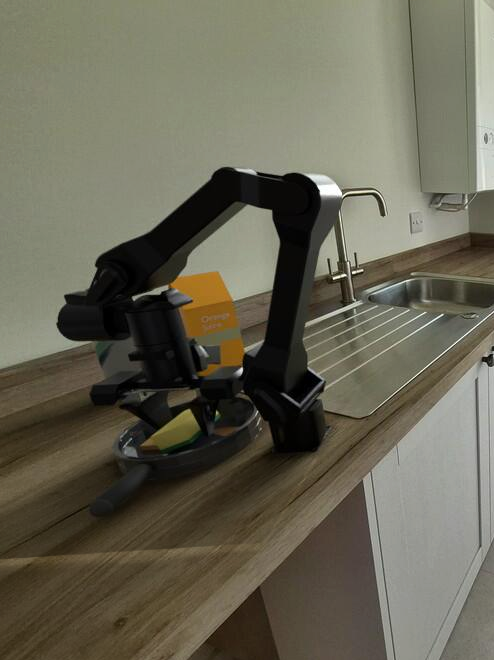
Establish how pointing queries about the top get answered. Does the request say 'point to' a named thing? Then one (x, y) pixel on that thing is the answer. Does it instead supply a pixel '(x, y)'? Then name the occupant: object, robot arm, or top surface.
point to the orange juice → (211, 317)
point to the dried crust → (149, 445)
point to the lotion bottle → (115, 356)
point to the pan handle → (120, 491)
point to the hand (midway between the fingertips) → (191, 435)
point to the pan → (226, 440)
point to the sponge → (178, 432)
